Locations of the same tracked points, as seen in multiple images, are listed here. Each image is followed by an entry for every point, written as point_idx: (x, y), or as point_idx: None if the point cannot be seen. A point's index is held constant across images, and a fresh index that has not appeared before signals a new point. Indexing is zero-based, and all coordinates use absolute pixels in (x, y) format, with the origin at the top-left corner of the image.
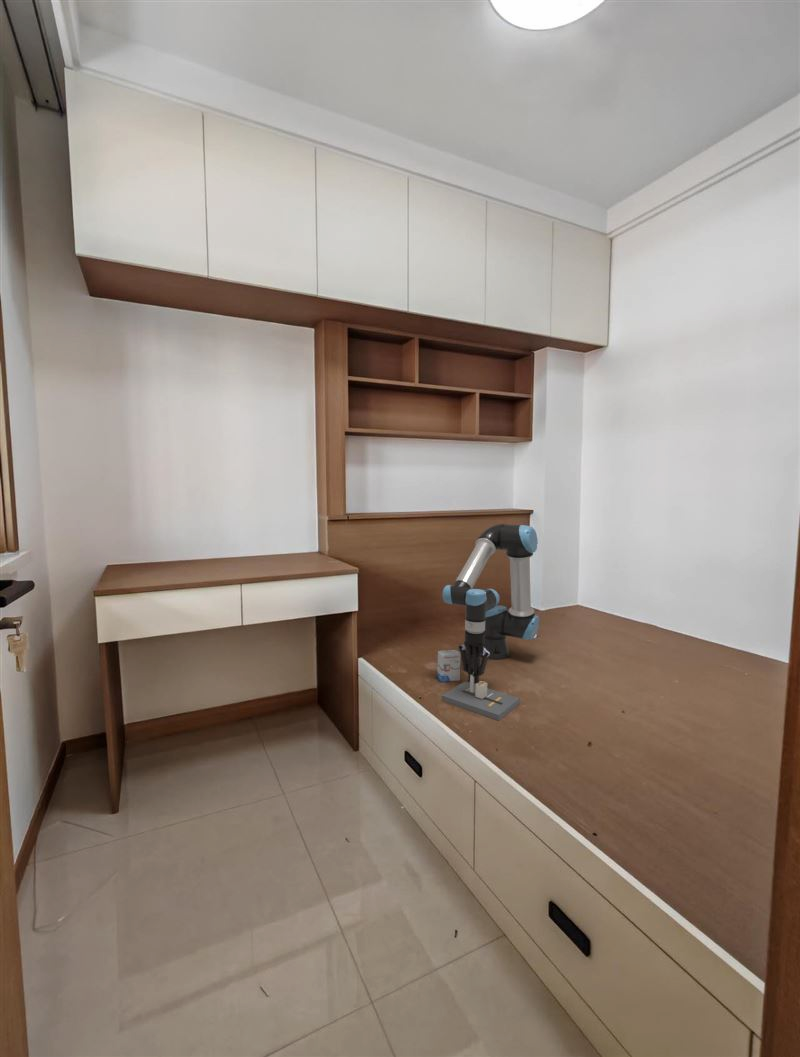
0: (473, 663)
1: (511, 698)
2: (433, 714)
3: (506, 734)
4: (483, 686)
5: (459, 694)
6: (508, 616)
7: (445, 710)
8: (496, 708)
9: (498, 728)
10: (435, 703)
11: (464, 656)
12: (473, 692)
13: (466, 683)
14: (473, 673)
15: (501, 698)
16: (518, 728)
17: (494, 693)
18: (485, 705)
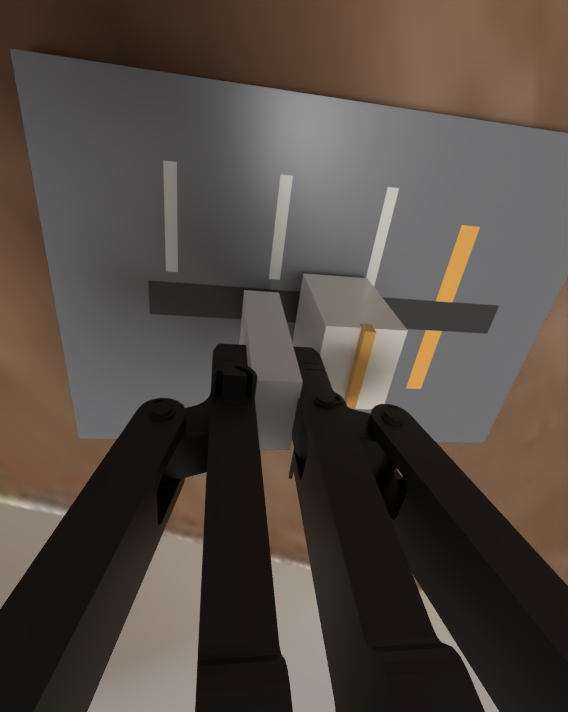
0: (262, 510)
1: (559, 190)
2: (165, 531)
3: (511, 487)
4: (383, 391)
5: (168, 363)
6: None
7: (187, 481)
8: (462, 390)
9: (475, 470)
10: (89, 457)
11: (89, 701)
12: (240, 270)
13: (67, 108)
14: (256, 398)
15: (479, 240)
16: (564, 427)
17: (409, 180)
18: (391, 395)
